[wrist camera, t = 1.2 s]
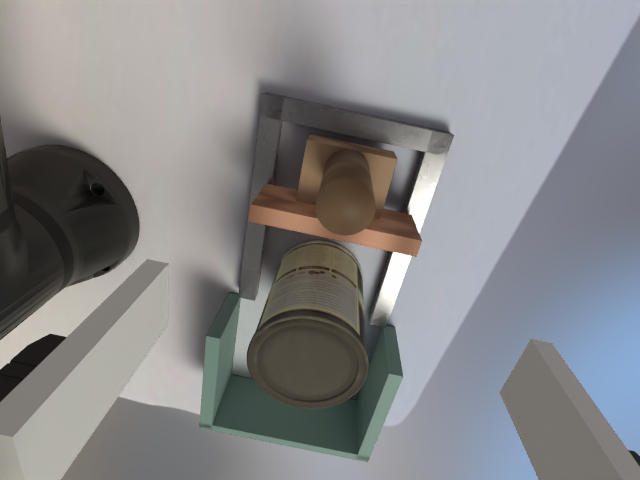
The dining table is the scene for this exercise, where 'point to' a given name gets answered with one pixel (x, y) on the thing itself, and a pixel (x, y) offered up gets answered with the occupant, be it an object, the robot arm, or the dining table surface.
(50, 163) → the robot arm
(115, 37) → the dining table surface
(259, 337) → the coffee can
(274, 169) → the track
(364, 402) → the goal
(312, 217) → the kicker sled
